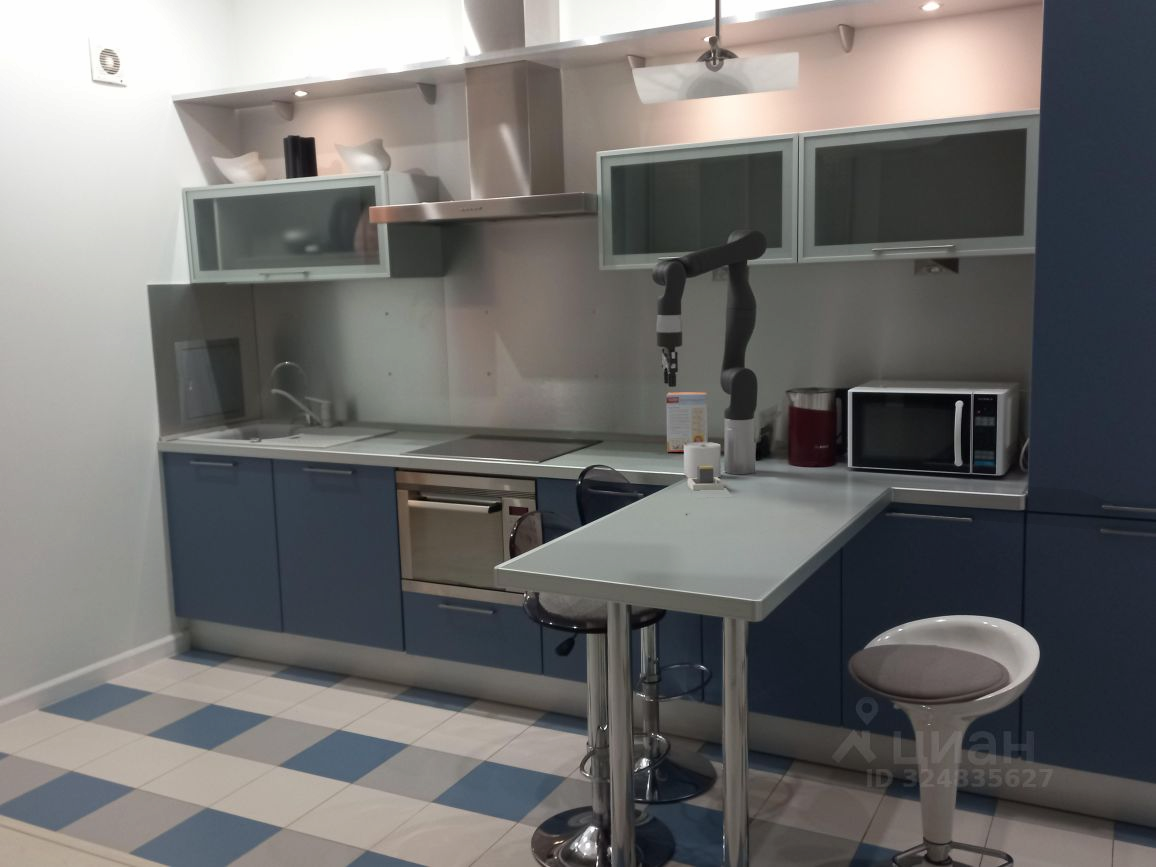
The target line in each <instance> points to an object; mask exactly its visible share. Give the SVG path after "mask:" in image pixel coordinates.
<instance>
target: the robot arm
mask: <svg viewBox="0 0 1156 867" xmlns="http://www.w3.org/2000/svg"><path fill="white" fill-rule="evenodd" d="M767 248H768V241H767V238H766V236H765V234H764V233H763V232H761V231H760V230H757V229H738V230H736V229H735V230H734V231H732V232H731V233H730V234H729V236H728V238H727V242H726V243H724V244H720V245H716V246H712V247H707V248H702V249H698V250H696V251H693V252H690V253H688V254H686V255H683V256H679V257H675V258H670V259H665V260H663V261H660V262H658V263H656V264H655V265H654V266H653V269H652V272H651V278H652V280H653V282H654V283H655V284H657V285H659V286H661V287H664V288H665V290H664V293H663V294H661V295H659V296H658V297H657V304H656V305H657V306H656V308H657V316H656V346H657V347H658V348H661V353H662V354H661V363H662V364H661V367H662V370H663V383H664V384H665V385H666V384H668V387H670V388H674V387H677V373H678V371H679V369H678V368H679V365H678V361H679V360H678V355H679V353H678V351H676V348H678V347H682V346H683V319H682V299H683V295H684V291H685V285H686V281H687V279H691V278H696V277H698V276H701V275H703V274H706V273H709V272H712V271H715V270H717V269H720V268H722V267H726V266H727V295H726V298H727V299H726V310H725V332H724V349H723V350H724V351H723V358H722V365H721V371H720V381H719V382H720V387H721V389H722V391H723V392H725V394H727V395H729V396H730V400H729V406H728V407H726V408H725V409H724V412H723V413H724V414H723V415H724V416H723V417H724V420H723V421H724V423H723V424H724V426H723V427H724V432H723V433H724V435H723V436H724V437H723V438H724V440H723V442H724V444H723V445H724V446H723V448H724V449H723V450H724V452H723V453H724V454H723V456H724V458H723V460H724V461H723V462H724V463H723V467H724V470H723V471H725V473H726V472H727V473H726V474H730V473H731V474H730V475H748V474H755V473H756V451H757V450H756V448H757V446H756V442H755V439H754V438H755V435H754V434H755V432H754V430H755V412H756V410H757V405H758V403H757V402H758V378H757V376H756V373H755V372H754V371H753V370H752V369H750V368H748V367H746V366H745V365H746V364H745V360H746V350H747V347H748V344H749V342H750V340H751V337H752V335H753V333H754V329H755V327H756V319H757V300H756V298H755V295H754V294H755V293H754V292H753V289H752V287H751V285H750V282H749V278H748V261H754V260H758V259H760V258H761V257H762V256H764V254H765V253H766V250H767Z"/></svg>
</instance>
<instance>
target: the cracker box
mask: <svg viewBox="0 0 1156 867" xmlns="http://www.w3.org/2000/svg"><path fill="white" fill-rule="evenodd" d="M708 426H709V425H708V392H707V391H705V392H704V391H703V392H702V391H700V392H699V391H698V392H695V391H693V392H692V391H691V392H687V391H684V392H680V391H679V392H677V391H676V392H675V391H674V392H667V394H666V448H667V450H666V452H684V445H687V444H690V443H698V442H709V441H708V440H709V438H708V437H709V436H708V434H709V433H708V431H709V430H708V428H709V427H708Z"/></svg>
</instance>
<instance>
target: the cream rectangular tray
mask: <svg viewBox="0 0 1156 867" xmlns="http://www.w3.org/2000/svg"><path fill="white" fill-rule="evenodd" d="M687 485H688V486H689V487H690V488H691V489H692V490H693V491H700V490H724V488H727V486H726V485H725V484H724V482H723V481H722V480H721V479H720V478H718V477H713V483H708V484H697V478H687Z"/></svg>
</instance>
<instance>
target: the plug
mask: <svg viewBox="0 0 1156 867" xmlns="http://www.w3.org/2000/svg"><path fill="white" fill-rule="evenodd" d="M708 483H713V466H697V484H708Z"/></svg>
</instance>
